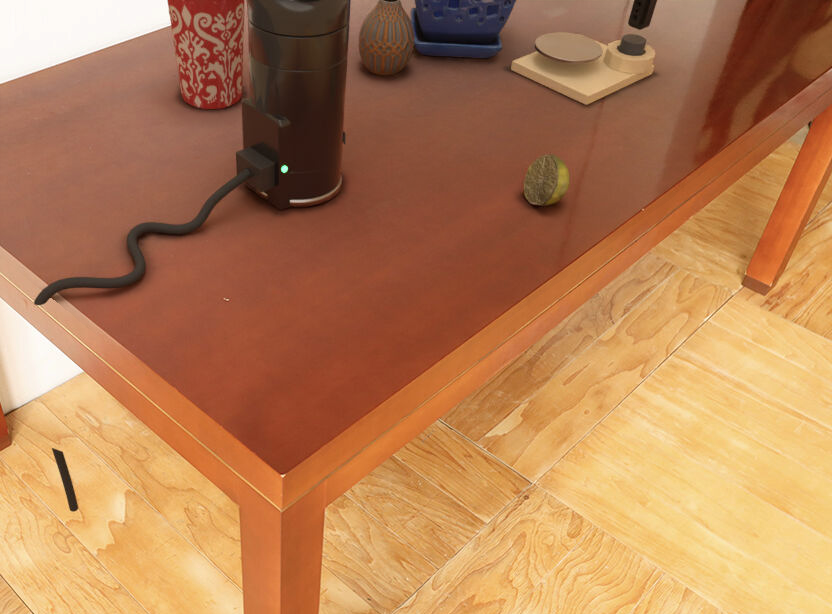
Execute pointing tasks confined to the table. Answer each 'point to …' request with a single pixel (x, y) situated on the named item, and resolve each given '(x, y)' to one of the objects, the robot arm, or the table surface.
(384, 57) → the vase
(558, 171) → the lime
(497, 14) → the flower pot
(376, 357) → the table surface
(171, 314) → the table surface
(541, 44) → the weighing plate
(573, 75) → the scale
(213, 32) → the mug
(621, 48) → the tare button
